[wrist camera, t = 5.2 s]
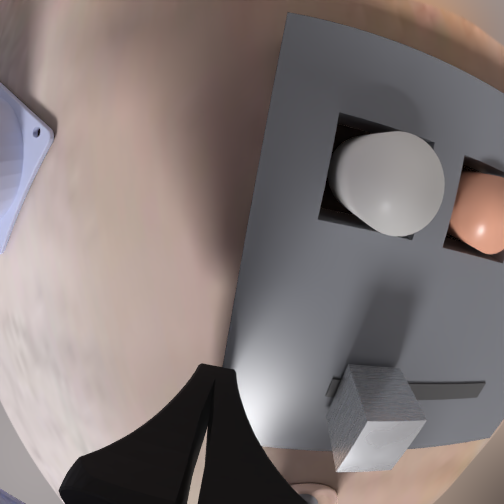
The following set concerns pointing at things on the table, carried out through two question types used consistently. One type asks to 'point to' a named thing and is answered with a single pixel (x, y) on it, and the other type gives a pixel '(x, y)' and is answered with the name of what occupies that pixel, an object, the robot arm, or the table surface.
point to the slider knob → (372, 419)
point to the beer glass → (316, 493)
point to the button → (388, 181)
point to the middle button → (479, 212)
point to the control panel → (366, 248)
